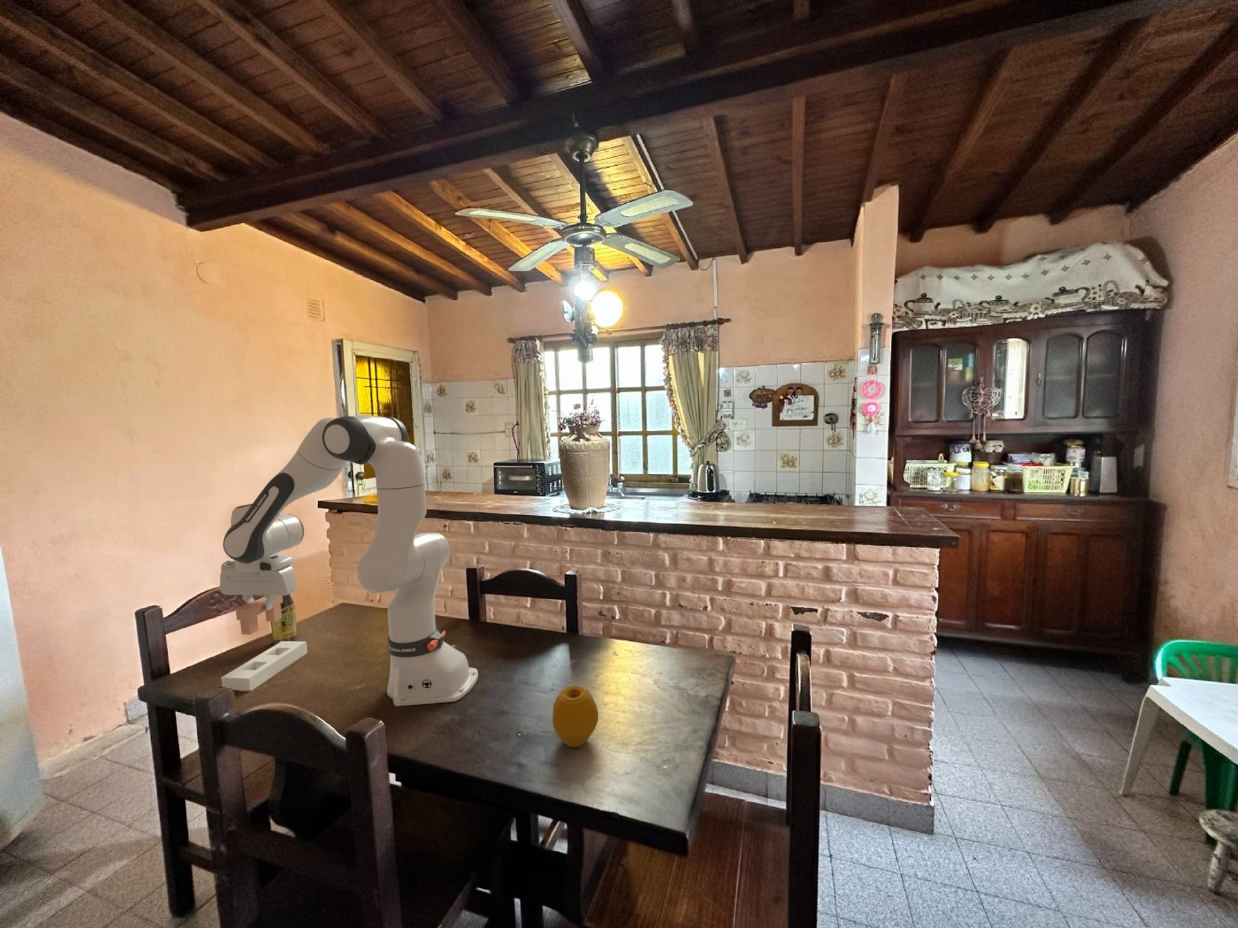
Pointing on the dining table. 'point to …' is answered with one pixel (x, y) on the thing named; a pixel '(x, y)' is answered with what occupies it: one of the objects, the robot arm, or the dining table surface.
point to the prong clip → (255, 608)
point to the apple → (574, 715)
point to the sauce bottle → (285, 622)
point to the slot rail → (264, 666)
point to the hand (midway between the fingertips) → (260, 609)
